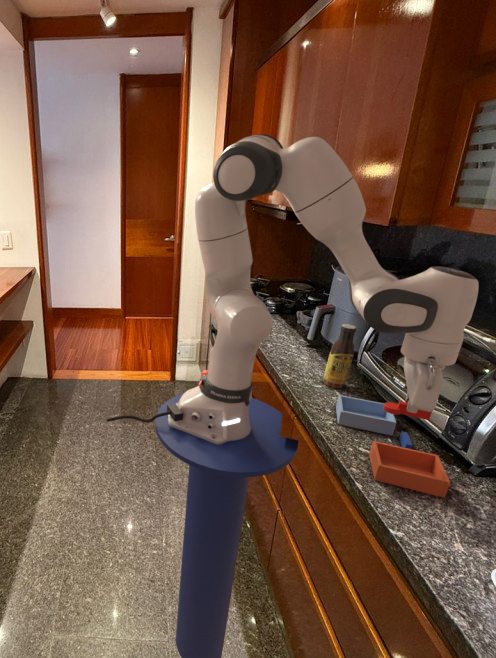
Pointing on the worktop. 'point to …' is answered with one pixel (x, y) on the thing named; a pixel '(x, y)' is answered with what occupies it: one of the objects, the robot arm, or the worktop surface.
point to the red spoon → (405, 410)
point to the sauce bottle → (340, 358)
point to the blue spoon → (405, 440)
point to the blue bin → (364, 415)
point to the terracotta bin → (409, 469)
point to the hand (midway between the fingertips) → (410, 408)
